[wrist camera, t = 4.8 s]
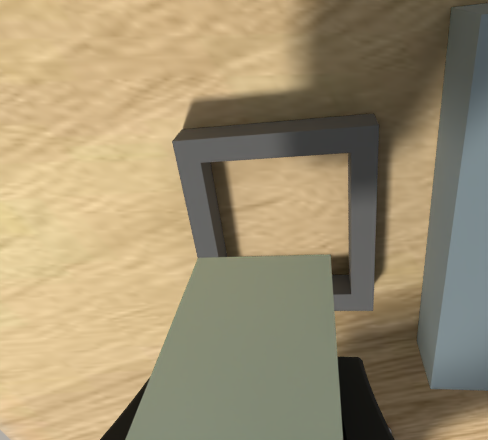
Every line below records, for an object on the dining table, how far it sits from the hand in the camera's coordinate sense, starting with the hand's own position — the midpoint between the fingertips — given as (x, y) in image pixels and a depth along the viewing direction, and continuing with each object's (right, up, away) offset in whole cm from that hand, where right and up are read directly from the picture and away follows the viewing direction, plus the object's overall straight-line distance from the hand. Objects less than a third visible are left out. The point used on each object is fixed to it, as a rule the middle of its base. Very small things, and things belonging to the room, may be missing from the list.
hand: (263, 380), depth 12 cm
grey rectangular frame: (+1, +5, +8) cm, 9 cm away
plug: (0, +1, +2) cm, 2 cm away
